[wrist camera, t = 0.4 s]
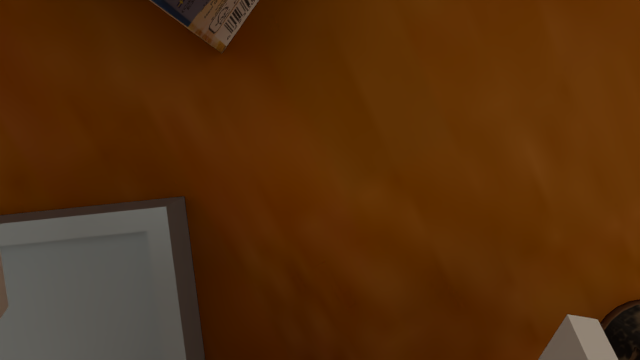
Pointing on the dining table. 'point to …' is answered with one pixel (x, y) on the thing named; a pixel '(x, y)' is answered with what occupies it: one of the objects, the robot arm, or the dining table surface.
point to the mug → (624, 330)
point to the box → (100, 284)
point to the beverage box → (209, 17)
